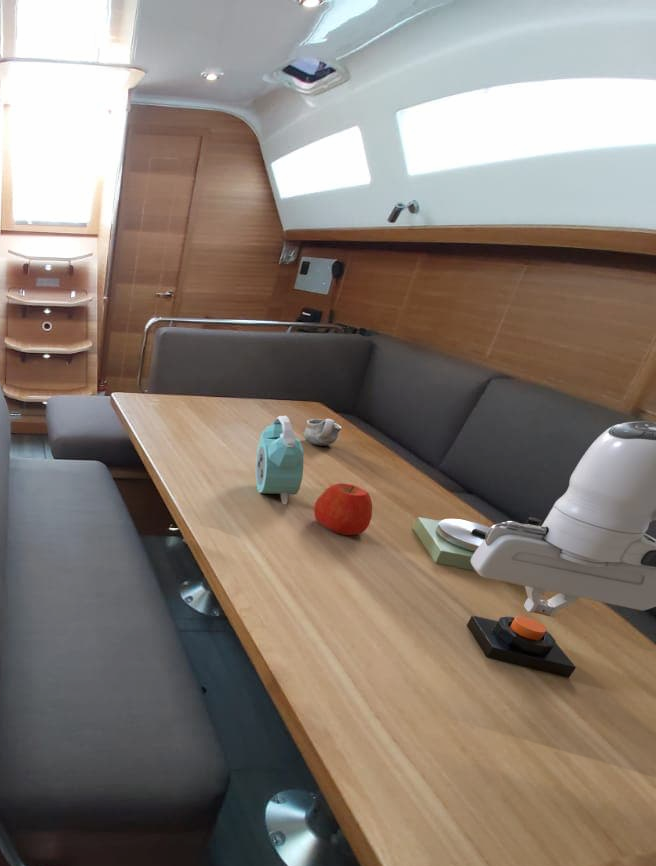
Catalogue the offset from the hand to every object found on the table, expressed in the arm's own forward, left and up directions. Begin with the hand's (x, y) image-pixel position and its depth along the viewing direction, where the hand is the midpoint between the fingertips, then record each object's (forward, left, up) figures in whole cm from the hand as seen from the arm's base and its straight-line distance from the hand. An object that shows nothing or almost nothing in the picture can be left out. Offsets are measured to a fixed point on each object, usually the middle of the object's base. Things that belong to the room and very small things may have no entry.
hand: (537, 611), depth 76 cm
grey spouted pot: (+16, -90, -8) cm, 92 cm away
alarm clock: (+33, -45, -8) cm, 56 cm away
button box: (0, 0, -8) cm, 8 cm away
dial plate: (-4, -32, -8) cm, 33 cm away
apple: (+20, -32, -8) cm, 39 cm away
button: (0, 0, -4) cm, 4 cm away
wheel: (-5, -31, -4) cm, 32 cm away
